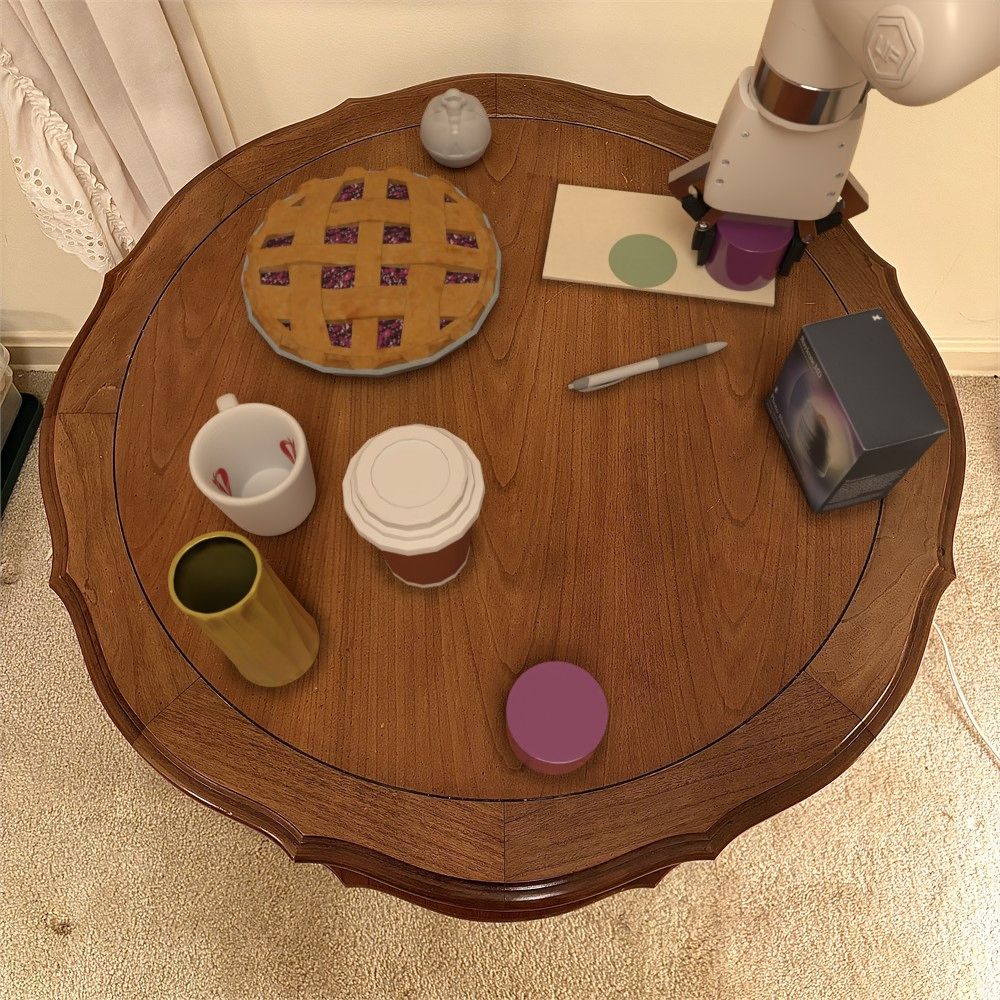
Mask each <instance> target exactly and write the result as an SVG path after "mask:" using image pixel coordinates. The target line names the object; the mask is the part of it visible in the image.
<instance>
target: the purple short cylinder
mask: <svg viewBox="0 0 1000 1000" xmlns="http://www.w3.org/2000/svg"><path fill="white" fill-rule="evenodd" d="M605 695H606V694H605V693H604V691H603V688H602V687H601V685H600V683H599V682H598V680H596V678H595V677H594V676H593V675H592V674H591V673H589V672H588V671H586V670H585V669H584V668H582V667H581V666H578V665H576V664H574V663H571V662H567V661H560V660H550V661H543V662H541V663H537V664H535V665H533V666H531V667H529V668H528V669H526V670H525V671H524V672H523V673H522V674H520V676H518V677H517V679H516V680H515V682H514V683H513V684H512V687H511V688H510V690H509V693H508V695H507V700H506V703H505V705H506V706H505V732H506V733H505V734H506V738H507V741H508V744H509V747H510V748H511V750H512V752H513V753H514V755H515V756H516V757H517V759H518V760H519V761H520V762H521V763H522V764H524V765H525V766H526V767H528V768H529V769H531V770H533V771H535V772H538V773H540V774H544V775H550V776H551V775H552V776H559V775H565V774H569V773H572V772H574V771H576V770H579V768H581V767H583V766H584V765H585V764H586V763H587V762H588V761H589V760H590V759H591V758H592V756H593V755H594V753H595V751H596V750H597V748H598V746H599V744H600V743H601V741H602V740H603V738H604V735H605V733H606V730H607V726H608V721H609V707H608V706H609V705H608V701H607V697H606V696H605Z"/></svg>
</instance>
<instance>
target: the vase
mask: <svg viewBox="0 0 1000 1000" xmlns="http://www.w3.org/2000/svg"><path fill="white" fill-rule="evenodd" d="M167 586H168V591H169V596H170V597H171V600H172V601H173V603H174V604H175V605H176V606H177V608H178V609H179V611H181V612H182V613H183V614H184V616H186V617H187V618H188V619H189V620H190V621H192V622H193V624H195V625H196V626H197V627H198V628H199V629H200V630H202V632H203V633H204V634H205V636H207V637H208V638H209V639H210V640H211V642H213V644H215V646H216V647H218V649H220V650H221V651H222V652H223V653H224V654H225V656H226V657H227V658H228V659H229V660H230V661H231V663H232V664H233V665H234V667H236V669H237V670H238V672H239V673H240V675H242V677H244V679H246V680H247V681H249V682H250V683H253V684H254V685H256V686H260V687H265V688H278V687H282V686H286V685H288V684H291V683H293V682H295V681H296V680H298V679H299V678H301V677H302V676H304V675H305V674H306V673H307V671H309V670H310V668H311V667H312V665H314V662H315V661H316V658H317V656H318V653H319V649H320V643H321V640H320V639H321V637H320V632H319V629H318V625H317V623H316V620H315V618H314V617H313V616H312V615H311V614H310V613H309V612H308V611H307V610H306V609H305V608H304V607H303V605H302V604H301V603H300V602H299V601H298V599H296V597H295V596H294V595H293V594H292V592H290V590H289V589H288V588H287V586H286V585H285V584H284V583H283V582H282V580H281V579H280V577H278V575H277V574H276V572H275V571H274V569H273V568H272V567H271V565H270V563H269V562H268V561H267V560H266V558H265V557H264V556H263V554H262V552H261V551H260V550H259V549H258V548H257V547H256V546H255V545H254V544H253V543H252V542H251V541H250V540H249V539H248V538H247V537H245V536H244V535H242V534H239V533H236V532H232V531H226V530H218V531H217V530H216V531H210V532H207V533H203V534H200V535H198V536H197V537H194V538H193V539H191V540H189V541H188V542H187V543H186V544H184V545H183V547H181V548H180V550H179V551H178V552H177V553H176V555H175V556H174V557H173V559H172V560H171V563H170V567H169V570H168V574H167Z"/></svg>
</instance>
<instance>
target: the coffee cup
mask: <svg viewBox="0 0 1000 1000" xmlns="http://www.w3.org/2000/svg"><path fill="white" fill-rule="evenodd" d="M341 488H342V498H343V499H342V500H343V509H344V512H345V514H346V515H347V517H348V519H349V520H350V523H352V526H353V528H354V529H355V530H356V532H357V534H358V535H359V536H360V537H361V538H363V539H365V540H366V541H367V542H368V543H370V544H372V545H373V546H374V547H376V548H377V549H378V550H379V552H380V553H381V555H382V557H383V559H384V561H385V563H386V565H387V566H388V568H389V570H390V571H391V573H392V575H393V576H394V577H396V578H397V579H399V580H400V581H401V582H403V583H405V584H406V585H409V586H413V587H417V588H422V589H426V588H433V587H439V586H442V585H444V584H446V583H448V582H449V581H451V580H452V579H454V578H456V577H457V576H458V575H459V573H460V572H461V571H462V570H463V568H464V567H465V566H466V565H467V561H468V558H469V553H470V551H471V538H472V529H473V524H474V523H475V522H476V520H477V519H478V518H479V516H480V514H481V509H482V506H483V501H484V498H485V494H486V485H485V479H484V473H483V468H482V463H481V462H480V460H479V458H478V457H477V455H475V453H474V451H473V450H472V449H471V447H470V445H469V444H468V442H466V441H465V440H463V439H461V438H459V437H458V436H457V435H455V434H453V433H451V432H450V431H449V430H447V429H445V428H443V427H437V426H433V425H427V424H423V423H414V424H407V425H406V424H405V425H400V426H393V427H390V428H388V429H386V430H385V431H382V432H380V433H379V434H377V435H374V436H373V437H371V438H369V439H367V441H366V442H364V443H363V445H362V446H361V447H360V448H359V449H358V450H357V452H356V453H355V454H354V455H353V456H352V457H351V458H350V460H349V463H348V466H347V468H346V471H345V474H344V477H343V480H342V483H341Z"/></svg>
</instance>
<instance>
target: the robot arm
mask: <svg viewBox="0 0 1000 1000" xmlns="http://www.w3.org/2000/svg"><path fill="white" fill-rule="evenodd" d="M759 45H760V46H759V49H758V52H757V55H756V58H755V63H754V65H750V66H746V67H745V68H744V69H743V70H742V71H741V72H740V74H739V75H738V77H737V79H736V80H735V82H734V84H733V86H732V88H731V90H730V93H729V94H728V96H727V98H726V101H725V104H724V105H723V108H722V110H721V113H720V116H719V118H718V121H717V124H716V127H715V130H714V132H713V135H712V138H711V140H710V143H709V147H708V150H707V151H706V152H705V153H703V154H701V155H699V156H696V157H694V158H692V159H691V160H690V161H687V162H686V163H684V164H682V165H680V166H678V167H676V168H674V169H672V170H671V171H670V172H668V174H667V178H666V179H667V180H666V189H667V191H669V193H670V194H671V195H672V197H675V198H676V199H677V200H679V201H680V202H681V203H682V208H683V209H684V210H685V211H686V212H687V213H688V215H689V216H690V217H691V218H692V219H693V220H694V221H695V222H696V227H695V230H694V234H693V238H692V246H691V250H697V251H698V256H697V265H698V266H703V265H706V262H707V259H708V256H709V252H710V249H711V246H712V243H713V240H714V236H715V227H716V226H715V223H716V222H717V221H718V220H719V219H720V218H721V217H722V216H723V215H724V214H725V213H726V212H727V211H728V212H735V213H743V214H751V215H759V216H768V217H777V218H786V219H793V221H794V227H795V228H794V234H793V237H792V239H791V241H790V244H789V246H788V248H787V251H786V253H785V255H784V258H783V260H782V262H781V265H780V267H779V269H778V274H780V275H781V276H782V277H789V274H790V272H791V271H792V268H793V265H794V264H795V263H801V260H802V258H803V256H804V254H805V251H806V249H807V248H808V245H809V244H813V243H815V242H816V241H817V239H818V236H819V235H823V234H824V233H826V232H828V231H831V230H833V229H835V228H837V227H839V226H841V225H842V224H843V221H848V220H850V219H853V218H855V217H857V216H859V215H861V214H863V213H865V212H867V211H868V210H869V208H870V203H869V202H870V199H869V194H868V192H867V190H866V189H865V188H864V187H863V186H862V184H861V183H860V182H859V180H858V179H857V178H856V176H855V175H854V174H853V173H852V172H851V170H850V169H851V167H852V164H853V160H854V157H855V154H856V152H857V147H858V144H859V141H860V137H861V133H862V130H863V126H864V121H865V117H866V111H867V106H868V105H867V104H868V97H869V93H870V91H871V90H876V91H877V92H878V93H879V94H881V95H882V96H883V97H885V98H886V99H888V100H889V101H891V102H893V103H894V104H897V105H901V106H904V107H909V108H910V107H911V108H915V107H918V108H919V107H924V106H929V105H932V104H936V103H938V102H941V101H942V100H945V99H947V98H949V97H951V96H952V95H954V94H956V93H958V92H959V91H960V90H963V89H964V88H966V87H967V86H969V85H971V84H973V83H975V81H978V80H979V79H981V78H983V77H984V76H986V75H989V73H991V72H994V71H995V70H996V69H997V68H999V67H1000V0H773V2H772V5H771V8H770V11H769V13H768V18H767V21H766V24H765V28H764V31H763V35H762V38H761V42H760V44H759ZM702 180H704V186H703V192H701V190H700V189H699V188H698V187H697V186H696V185H695V184H696V183H698V182H700V181H702ZM839 198H840V199H839Z"/></svg>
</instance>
